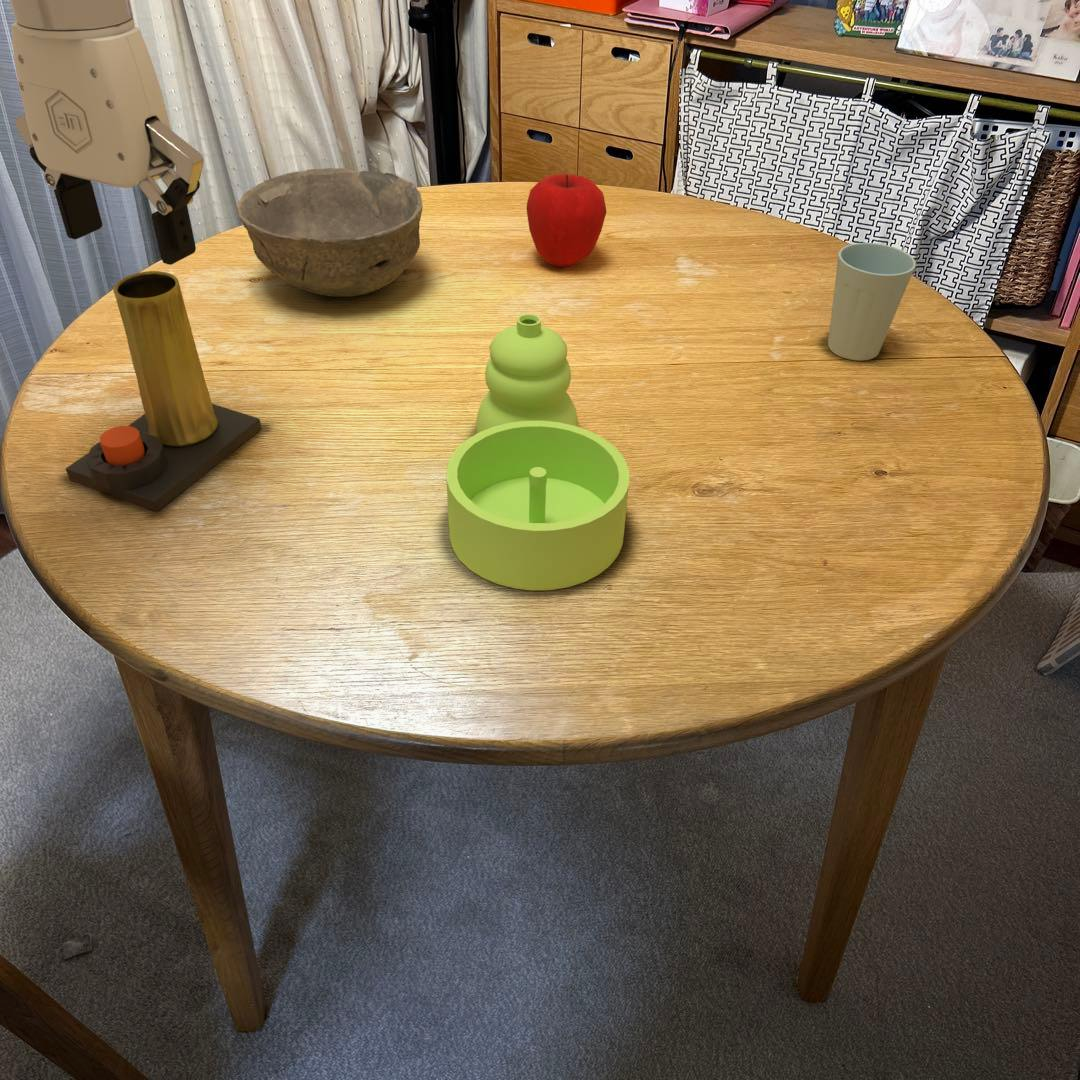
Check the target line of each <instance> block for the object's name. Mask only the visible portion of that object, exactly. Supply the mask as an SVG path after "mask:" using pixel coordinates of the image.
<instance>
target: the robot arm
mask: <svg viewBox="0 0 1080 1080" xmlns="http://www.w3.org/2000/svg"><path fill="white" fill-rule="evenodd" d="M9 2H10V6H11V9H12V12H13V15H14V20H15V22H14V23H12V24H11V42H12V53H13V60H14V67H15V72H16V79H17V85H18V88H19V93H20V97H21V98H20V99H21V104H22V107H23V111H24V113H23V114H22V115H20V116H19V117H17V118H16V119H14V126H15V129H16V131H18V134H19V135H20V136H21V138H22V140H23V141H24V143H25V144H26V146H27V148H29V155H30V157H31V158H32V160H33V161H34V163H36V164H37V166H38V167H39V168H40V169H41V171H43V172H44V173H43V178H44V181H45V183H46V184H47V186H49V187H50V188H51V189H53V192H54V195H55V199H56V203H57V206H58V209H59V213H60V217H61V219H62V223H63V226H64V230H65V233H66V236H67V238H69V239H71V240H78V239H80V238H82V237H85V236H88V235H90V234H91V233H93V232H96V231H99V230H100V229H102V228H103V221H102V216H101V213H100V209H99V205H98V202H97V201H98V200H97V198H96V194H95V191H94V187H93V183H92V182H95V183H100V184H104V185H108V186H112V187H118V188H123V189H131V188H134V187H136V186H138V188H139V189H140V190H141V191H142V192H143V194H144V195H145V196H146V198H147V199H148V201H149V202H150V203H151V204H152V205H153V207H154V208H155V209H156V211H155V212H152V213H151V221H152V226H153V229H154V234H155V238H156V242H157V247H158V251H159V255H160V259H161V261H162V263H163V264H166V265H169V266H171V265H174V264H176V263H178V262H180V261H181V260H183V259H186V258H187V257H189V256H191V255H193V254H195V253H196V249H197V246H196V241H195V237H194V232H193V226H192V222H191V218H190V217H191V216H190V213H189V212H190V211H189V207H188V205H190V204H192V203H193V201H194V196H195V195H196V193H197V192H198V190H199V189H200V188H201V182H200V179H201V176H202V171H203V167H204V163H205V161H204V157H203V155H202V154H201V153H200V151H199V150H197V149H195V148H194V147H193V146H192V145H190V144H189V143H188V142H187V141H186V140H184V139H183V138H182V137H180V136H179V135H178V134H176V133H175V132H174V131H173V130H172V129H171V124H170V120H169V114H168V112H167V107H166V104H165V100H164V96H163V92H162V90H161V85H160V81H159V79H158V75H157V73H156V70H155V67H154V63H153V61H152V58H151V55H150V53H149V50H148V46H147V45H146V42H145V39H144V37H143V34H142V32H141V30H140V28H139V27H136V24H135V19H134V13H133V8H132V5H131V4H132V3H131V0H9ZM159 179H160V180H161V181H162V182H163V183H164V185H165V186H166V190H165V191H163V190H162V189H161V186H160V185H159V184H158V183H157V182H156V181H157V180H159ZM54 188H55V189H54Z"/></svg>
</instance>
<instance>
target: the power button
mask: <svg viewBox="0 0 1080 1080" xmlns="http://www.w3.org/2000/svg"><path fill="white" fill-rule="evenodd" d="M99 442H100V444H101V447H102V450H103V453H104V456H105V458H106V461H107V462H108V463H109V464H111V465H126V464H130V463H133V462H136V461H138V460H140V459H141V458H142V457H144V455H145V450H144V446H143V443H142V440H141V436H140V433H139V431H138V430H137V429H136V428H134V427H131V426H128V425H117V426H114V427H112V428H109V429H106V430H105V431H104V432H102V433H101V435H100V437H99Z"/></svg>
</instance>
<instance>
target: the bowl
mask: <svg viewBox="0 0 1080 1080" xmlns="http://www.w3.org/2000/svg"><path fill="white" fill-rule="evenodd" d="M423 206H424V205H423V198H422V194H421V191H420V190H419V189H417V185H415V184H414V183H412V182H411V181H408V180H407V179H405V178H402V177H400V176H398V175H395V174H394V173H390V172H385V173H383V172H381V171H378V170H377V171H369V170H362V171H355V170H351V169H350V168H347V167H341V168H340V167H337V168H335V167H334V168H333V167H329V168H327V167H326V168H311V169H307V170H299V171H292V172H287V173H284V174H281V175H277V176H275V177H272V178H270V179H265V180H263V181H262V182H259V183H258V184H256V185H255V186H253V187H252V188H250V189H249V190H247V191H246V192H244V193H243V194H242V196H241V198H240V200H238V201H237V211H236V213H237V216H238V219H239V221H240V223H241V224H242V225H243V227H244V228H245V230H246V231H247V234H248V237H249V239H250V241H251V243H252V249H253V252H254V255H255V256H256V258H257V259H258V261H260V263H262V265H264V267H265V268H267V269H268V270H269V271H271V272H272V273H274V274H275V275H276V276H277V277H279V278H280V279H282V281H284V282H285V283H288V284H289V285H291V286H292V287H296V288H299V289H301V290H303V291H307V292H310V293H312V294H316V295H322V296H326V297H332V298H335V297H336V298H344V297H345V298H346V297H349V298H350V297H357V296H358V297H359V296H363V295H366V294H369V293H373V292H375V291H378V290H380V289H382V288H384V287H386V286H388V285H389V284H391V283H392V282H394V281H395V280H396V279H397V278H398V277H399V276H400V275H401V274H402V273H403V272H405V270H406V269H407V268H408V266H409V265H410V264H411V263H412V261H413V260H414V258H416V257H415V256H416V255H417V253H418V251H419V249H420V245H421V238H420V237H421V236H420V227H421V225H420V222H421V219H422V214H423V208H424V207H423Z"/></svg>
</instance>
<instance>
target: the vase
mask: <svg viewBox="0 0 1080 1080" xmlns="http://www.w3.org/2000/svg"><path fill="white" fill-rule="evenodd" d="M112 291H113V295H114V297H115V300H116V304H117V307H118V311H119V314H120V318H121V321H122V324H123V329H124V333H125V336H126V340H127V346H128V350H129V354H130V359H131V363H132V367H133V371H134V373H135V376H136V380H137V385H138V390H139V395H140V400H141V404H142V409H143V413H144V414H145V416H146V419H147V422H148V426H149V434H150V435H153V436H156V437H157V438H158V439H159V441H160V442H161V444H162V445H165V446H172V447H181V446H188V445H192V444H196V443H198V442H201V441H203V440H205V439H206V438H208V437H209V436H211V435H212V434H213V433H214V432H215V430H216V428H217V426H218V420H217V418H216V416H215V413H214V410H213V406H212V404H213V403H212V399H211V395H210V392H209V389H208V385H207V381H206V379H205V374H204V371H203V367H202V363H201V360H200V355H199V353H198V349H197V345H196V342H195V338H194V335H193V332H192V326H191V324H190V320H189V315H188V312H187V308H186V304H185V301H184V297H183V293H182V289H181V285H180V282H179V279H178V277H177V276H176V275H174V274H172V273H170V272H166V271H161V270H148V271H140V272H136V273H133V274H129V275H126V276H125V277H123V278H120V280H119V281H118V282H116V283H115V284H114V286H113V290H112Z"/></svg>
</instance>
